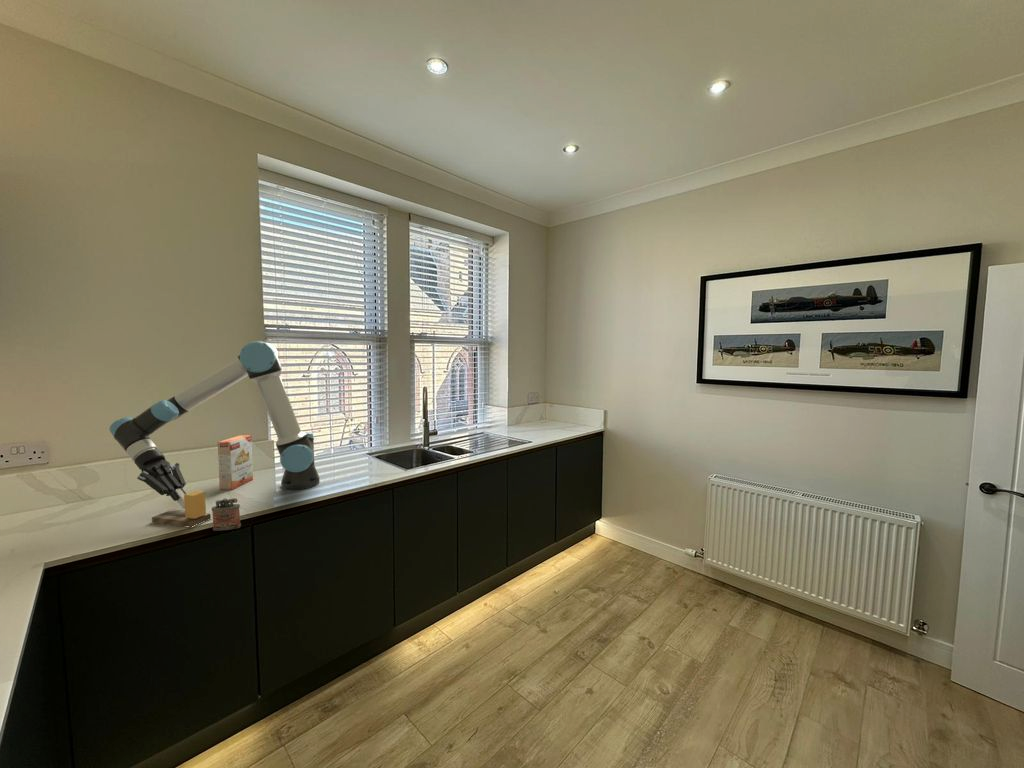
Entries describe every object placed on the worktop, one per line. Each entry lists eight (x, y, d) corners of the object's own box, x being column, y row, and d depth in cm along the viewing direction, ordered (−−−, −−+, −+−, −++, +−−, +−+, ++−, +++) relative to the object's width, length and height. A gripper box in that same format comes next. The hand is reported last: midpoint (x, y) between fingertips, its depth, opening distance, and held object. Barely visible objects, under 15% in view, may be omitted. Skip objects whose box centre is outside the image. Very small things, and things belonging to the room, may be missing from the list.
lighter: (211, 531, 135) (209, 502, 134) (215, 527, 138) (213, 498, 138) (238, 528, 137) (237, 499, 136) (242, 524, 141) (240, 496, 140)
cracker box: (233, 490, 174) (230, 441, 172) (219, 490, 174) (216, 441, 172) (254, 479, 188) (252, 434, 186) (241, 479, 188) (238, 434, 186)
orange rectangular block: (185, 517, 140) (183, 494, 139) (196, 513, 144) (195, 490, 143) (194, 518, 139) (193, 495, 138) (206, 514, 143) (204, 491, 142)
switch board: (152, 522, 142) (151, 516, 141) (172, 514, 148) (172, 509, 148) (191, 527, 138) (190, 521, 138) (210, 519, 145) (210, 513, 144)
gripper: (160, 457, 151) (199, 505, 149) (119, 467, 138) (161, 519, 136) (170, 444, 149) (210, 492, 147) (130, 452, 137) (173, 505, 134)
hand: (187, 505), depth 142 cm, fingers closed
